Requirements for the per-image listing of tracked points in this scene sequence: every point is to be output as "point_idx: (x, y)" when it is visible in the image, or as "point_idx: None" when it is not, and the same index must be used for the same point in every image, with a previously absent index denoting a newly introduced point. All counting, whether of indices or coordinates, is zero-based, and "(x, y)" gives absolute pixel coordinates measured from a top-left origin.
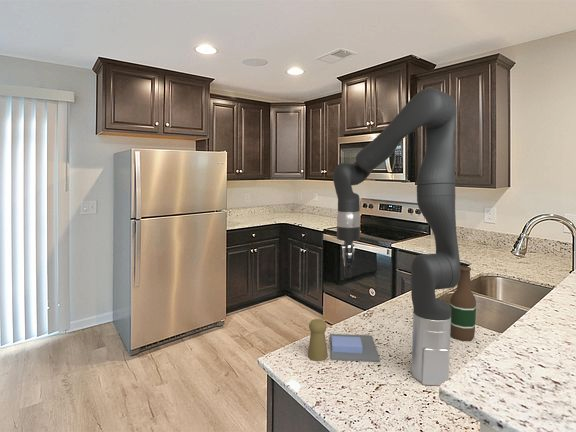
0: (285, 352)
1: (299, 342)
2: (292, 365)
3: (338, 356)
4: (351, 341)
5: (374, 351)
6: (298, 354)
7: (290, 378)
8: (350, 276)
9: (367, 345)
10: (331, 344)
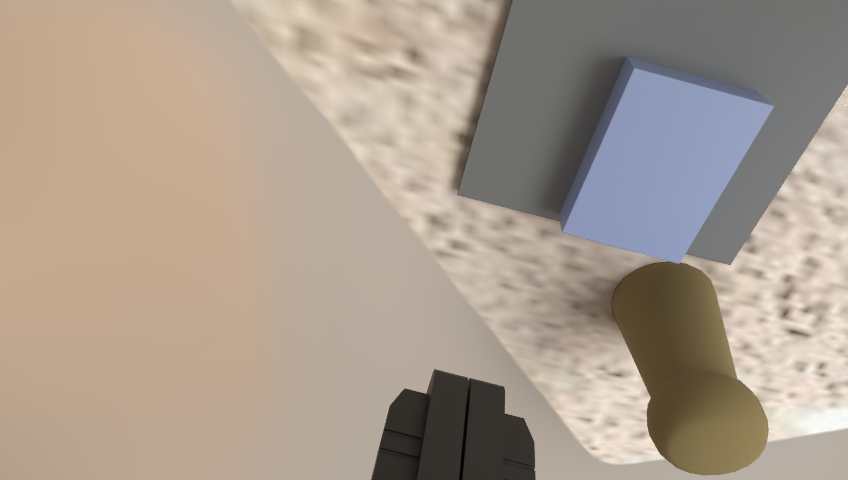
0: (582, 400)
1: (504, 338)
2: None
3: (730, 229)
4: (672, 147)
5: (773, 1)
6: (617, 364)
7: (789, 423)
8: (501, 402)
9: (675, 18)
10: None
